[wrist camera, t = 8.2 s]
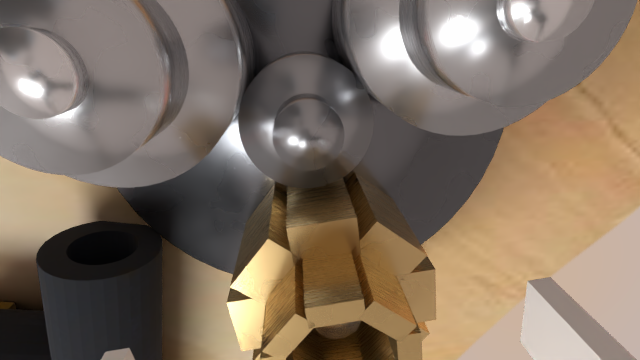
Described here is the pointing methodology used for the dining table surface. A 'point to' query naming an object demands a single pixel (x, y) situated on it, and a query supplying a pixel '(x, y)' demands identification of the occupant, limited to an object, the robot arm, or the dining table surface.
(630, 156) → the dining table surface
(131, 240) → the pipe connector
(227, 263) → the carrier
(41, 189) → the dining table surface
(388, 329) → the brass stepped collar
